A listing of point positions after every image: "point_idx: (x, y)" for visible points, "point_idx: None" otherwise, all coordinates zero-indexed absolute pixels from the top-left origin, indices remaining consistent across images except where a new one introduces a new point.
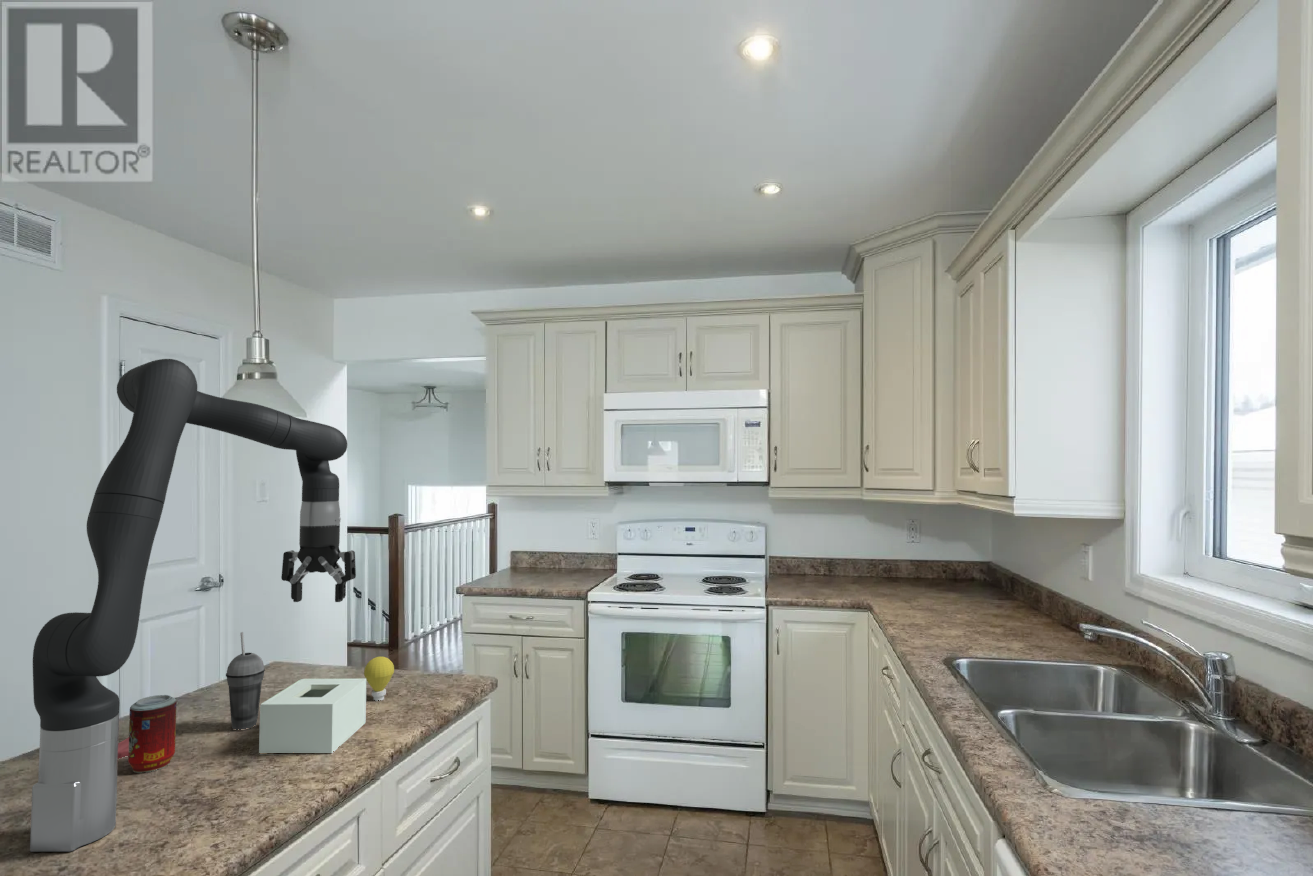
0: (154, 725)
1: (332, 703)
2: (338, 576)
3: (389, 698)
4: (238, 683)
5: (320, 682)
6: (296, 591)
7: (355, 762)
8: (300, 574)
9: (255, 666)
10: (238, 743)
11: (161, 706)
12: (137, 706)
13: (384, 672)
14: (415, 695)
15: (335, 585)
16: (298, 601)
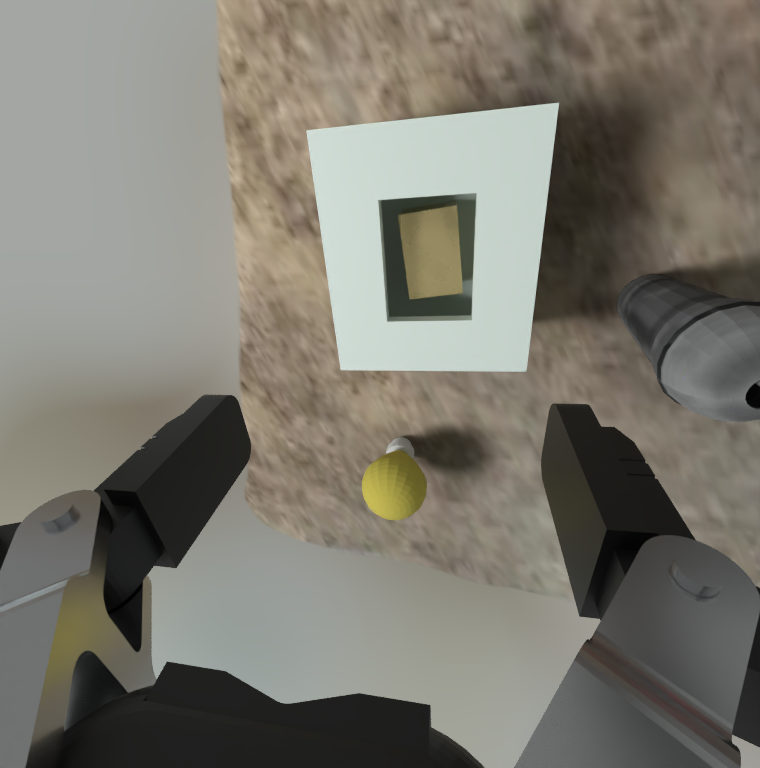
0: None
1: (309, 136)
2: (12, 565)
3: (383, 448)
4: (723, 299)
5: (452, 338)
6: (583, 463)
7: (262, 88)
8: (584, 663)
9: (694, 350)
10: (618, 192)
11: None
12: None
13: (370, 469)
14: (340, 459)
15: (138, 482)
16: (548, 425)
